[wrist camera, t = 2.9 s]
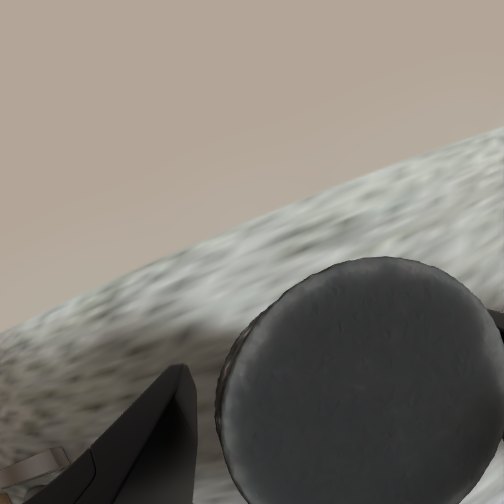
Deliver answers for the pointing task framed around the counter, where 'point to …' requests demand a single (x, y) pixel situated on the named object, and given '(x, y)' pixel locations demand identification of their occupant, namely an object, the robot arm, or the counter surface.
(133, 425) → the robot arm
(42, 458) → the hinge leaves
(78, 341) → the counter surface
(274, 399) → the pill bottle
